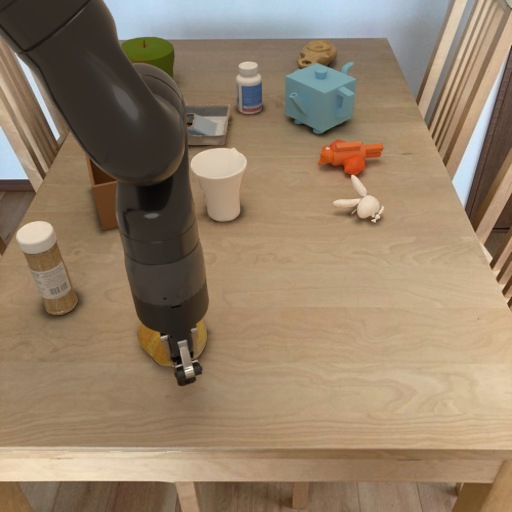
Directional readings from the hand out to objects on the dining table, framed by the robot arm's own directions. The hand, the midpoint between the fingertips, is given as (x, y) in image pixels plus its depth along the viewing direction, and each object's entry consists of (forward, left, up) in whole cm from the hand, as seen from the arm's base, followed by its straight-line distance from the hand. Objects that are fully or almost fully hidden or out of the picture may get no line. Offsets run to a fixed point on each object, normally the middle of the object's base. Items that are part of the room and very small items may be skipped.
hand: (186, 379), depth 66 cm
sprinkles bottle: (+3, +24, -2) cm, 24 cm away
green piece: (+65, +55, -2) cm, 85 cm away
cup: (+32, +15, -2) cm, 35 cm away
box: (+27, +30, -2) cm, 40 cm away
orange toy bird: (+54, +1, -2) cm, 54 cm away
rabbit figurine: (+42, -5, -2) cm, 43 cm away
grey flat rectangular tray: (+50, +39, -2) cm, 63 cm away
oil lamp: (+92, +25, -2) cm, 95 cm away
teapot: (+68, +13, -2) cm, 69 cm away
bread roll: (+5, +6, -2) cm, 8 cm away
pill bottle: (+66, +29, -2) cm, 72 cm away
